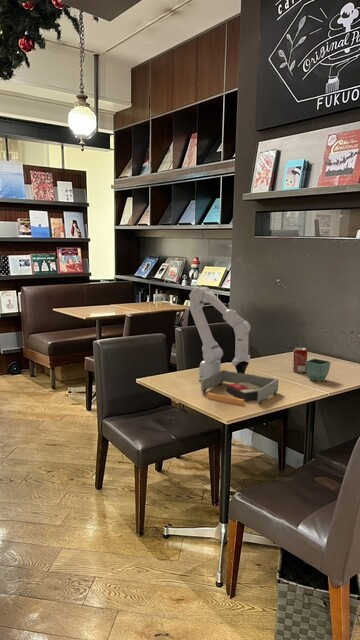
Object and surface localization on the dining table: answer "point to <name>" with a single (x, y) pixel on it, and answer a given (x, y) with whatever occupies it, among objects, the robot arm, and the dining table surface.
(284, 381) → the dining table surface
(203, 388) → the grey u-shaped barrier
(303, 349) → the soda can
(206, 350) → the robot arm
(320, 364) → the flower pot
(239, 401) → the bar
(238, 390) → the calculator
